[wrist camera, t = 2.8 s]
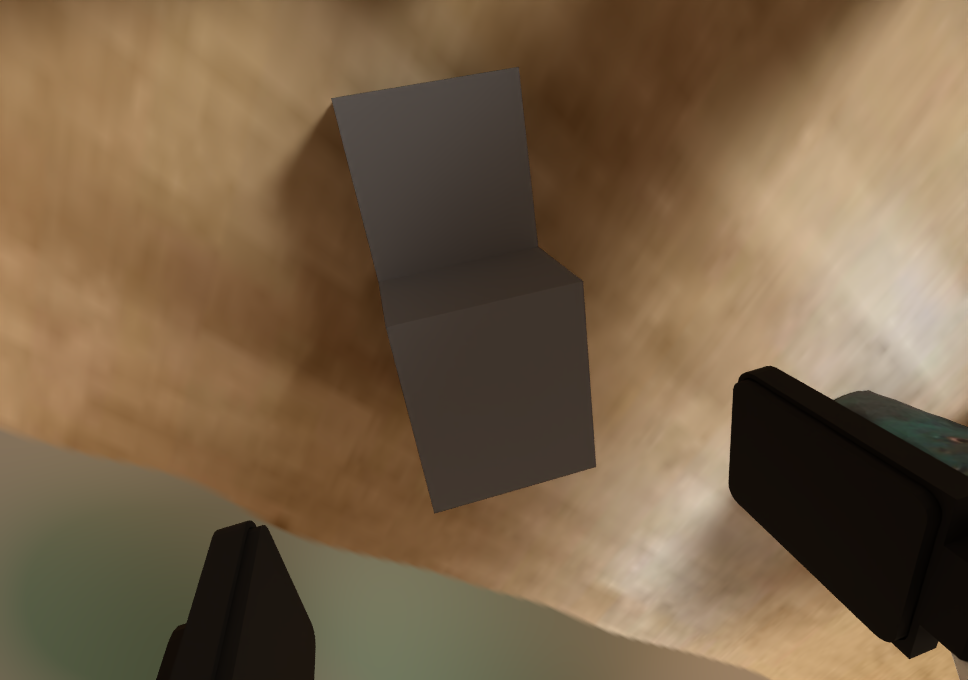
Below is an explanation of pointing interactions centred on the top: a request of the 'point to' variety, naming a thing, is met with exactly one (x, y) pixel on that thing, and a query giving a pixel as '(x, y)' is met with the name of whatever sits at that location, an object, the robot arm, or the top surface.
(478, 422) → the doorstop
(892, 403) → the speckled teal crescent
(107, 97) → the top surface
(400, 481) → the top surface
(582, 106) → the top surface
